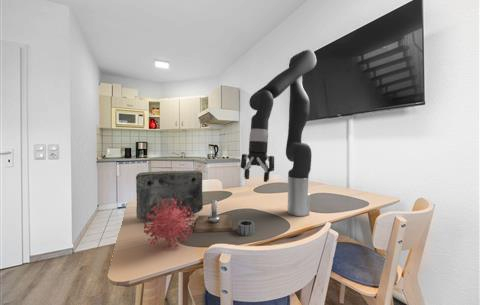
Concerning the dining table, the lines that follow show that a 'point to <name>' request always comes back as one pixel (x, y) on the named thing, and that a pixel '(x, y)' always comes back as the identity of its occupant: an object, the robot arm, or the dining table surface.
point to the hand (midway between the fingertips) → (256, 180)
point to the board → (205, 226)
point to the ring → (246, 227)
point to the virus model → (169, 223)
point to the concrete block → (168, 191)
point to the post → (214, 213)
